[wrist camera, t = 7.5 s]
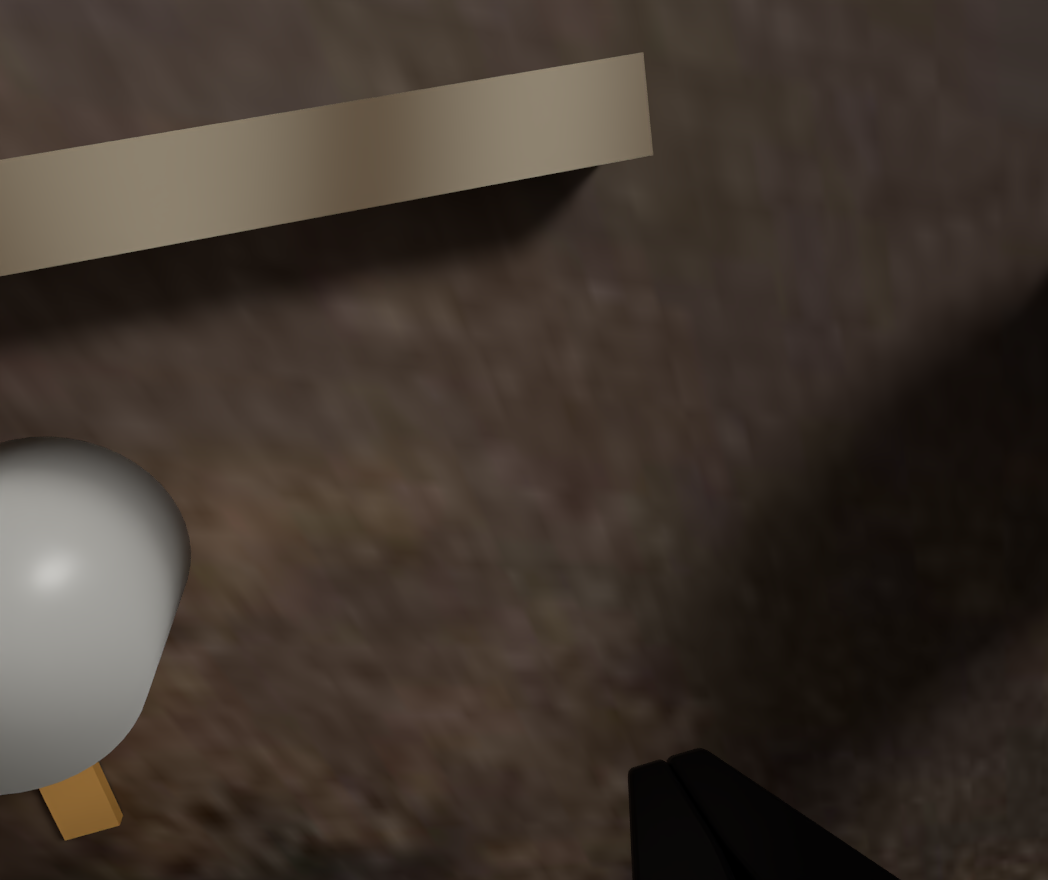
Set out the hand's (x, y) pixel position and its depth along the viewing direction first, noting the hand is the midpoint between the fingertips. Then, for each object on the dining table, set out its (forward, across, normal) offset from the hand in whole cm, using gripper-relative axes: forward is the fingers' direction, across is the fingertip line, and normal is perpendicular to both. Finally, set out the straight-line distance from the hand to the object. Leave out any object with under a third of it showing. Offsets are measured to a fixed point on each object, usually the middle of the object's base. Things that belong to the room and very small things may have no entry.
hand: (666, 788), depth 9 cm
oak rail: (+10, +8, -6) cm, 14 cm away
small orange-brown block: (+10, +11, +6) cm, 16 cm away
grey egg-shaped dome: (+10, +9, 0) cm, 14 cm away
